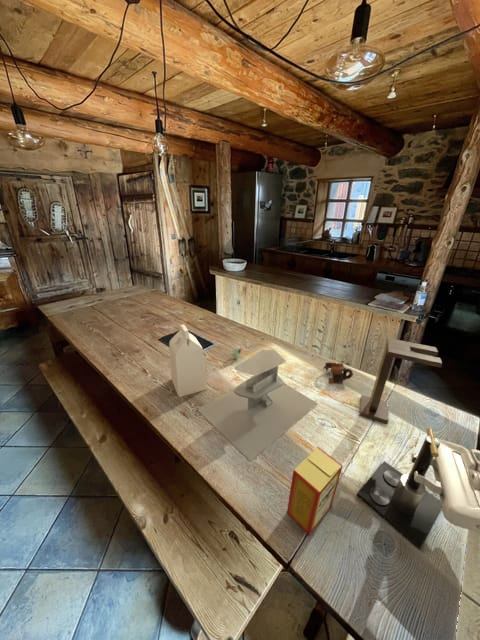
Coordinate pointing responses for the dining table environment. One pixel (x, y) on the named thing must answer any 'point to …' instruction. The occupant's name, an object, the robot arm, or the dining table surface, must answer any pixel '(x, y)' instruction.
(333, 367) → the pottery mug
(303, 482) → the baking soda box
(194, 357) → the milk
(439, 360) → the stand
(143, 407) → the dining table surface
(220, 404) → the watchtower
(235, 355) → the robot head
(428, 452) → the handle in metal cup
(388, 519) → the stove
